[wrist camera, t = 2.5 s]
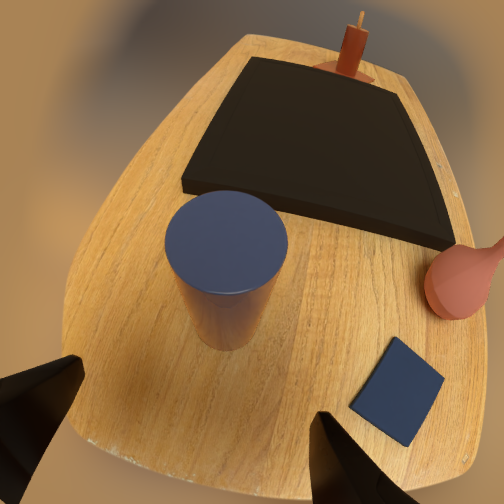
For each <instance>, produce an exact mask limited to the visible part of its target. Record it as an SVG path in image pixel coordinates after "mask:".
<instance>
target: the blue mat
mask: <svg viewBox="0 0 504 504" xmlns="http://www.w3.org/2000/svg"><path fill="white" fill-rule="evenodd" d="M444 379H445V378H444V377H442V376H441V375H440V374H439V373H438V372H437V371H436V370H435V369H433V368H432V367H431V366H430V365H429V364H428V363H426V362H425V361H424V360H423V359H422V358H421V357H420V356H418V355H417V354H416V353H415V352H414V351H413V350H411V349H410V348H409V347H408V346H407V345H406V344H404V343H403V342H402V341H401V340H400V339H399V338H397V337H394V338H393V339H392V341H391V342H390V344H389V346H388V348H387V349H386V351H385V353H384V355H383V356H382V358H381V360H380V361H379V363H378V365H377V366H376V368H375V369H374V371H373V373H372V374H371V376H370V377H369V379H368V380H367V382H366V383H365V385H364V386H363V388H362V389H361V391H360V392H359V394H358V395H357V396H356V398H355V399H354V401H353V402H352V403H351V405H350V406H349V408H350V409H352V410H353V411H355V412H356V413H357V414H359V415H360V416H361V417H363V418H364V419H366V420H367V421H368V422H370V423H371V424H373V425H374V426H375V427H377V428H378V429H380V430H381V431H382V432H384V433H385V434H387V435H388V436H390V437H391V438H393V439H394V440H396V441H397V442H399V443H400V444H402V445H403V446H405V447H409V445H410V443H411V442H412V440H413V439H414V437H415V435H416V434H417V432H418V430H419V429H420V427H421V425H422V423H423V421H424V420H425V418H426V416H427V414H428V412H429V410H430V409H431V407H432V405H433V403H434V401H435V399H436V397H437V395H438V392H439V390H440V388H441V386H442V384H443V382H444Z"/></svg>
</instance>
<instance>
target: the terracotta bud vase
mask: <svg viewBox="0 0 504 504" xmlns="http://www.w3.org/2000/svg"><path fill="white" fill-rule="evenodd" d="M503 258H504V237H503V238H502V239H501V240H499V241H498V242H497V243H496V244H495V245H494V246H493V247H490V248H482V249H474V248H471V247H467V246H464V245H454V246H452V247H450V248H448V249H447V250H445V251H443V252H441V253H440V254H439V255H437V256H436V257H435V259H434V261H433V262H432V264H431V266H430V268H429V270H428V272H427V274H426V276H425V281H424V289H425V295H426V298H427V300H428V303H429V305H430V307H431V308H432V309H433V311H434V312H435V313H436V314H437V315H438V316H440V317H441V318H443V319H446V320H458V319H465V318H468V317H470V316H472V315H473V314H474V313H475V312H476V311H477V310H479V309H480V308H481V307H482V306H483V305H484V304H485V302H486V301H487V299H488V295H489V290H490V285H491V279H492V277H493V275H494V272H495V270H496V268H497V266H498V263H499V261H500V260H501V259H503Z"/></svg>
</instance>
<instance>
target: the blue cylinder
mask: <svg viewBox="0 0 504 504" xmlns="http://www.w3.org/2000/svg"><path fill="white" fill-rule="evenodd" d="M287 249H288V238H287V233H286V229H285V227H284V224H283V222H282V220H281V218H280V217H279V216H278V214H277V213H276V212H275V211H274V210H273V209H272V208H271V207H270V206H269V205H268V204H267V203H265V202H264V201H262V200H261V199H259V198H257V197H255V196H252V195H250V194H247V193H243V192H238V191H228V190H224V191H214V192H209V193H205V194H202V195H200V196H197V197H195V198H193V199H192V200H190V201H188V202H187V203H186V204H184V205H183V206H182V207H181V208H180V209H179V210H178V211H177V212H176V213H175V215H174V216H173V217H172V219H171V221H170V223H169V225H168V228H167V231H166V235H165V252H166V256H167V259H168V262H169V265H170V267H171V270H172V273H173V275H174V278H175V280H176V283H177V286H178V288H179V291H180V293H181V296H182V298H183V301H184V303H185V305H186V308H187V310H188V313H189V315H190V317H191V320H192V322H193V324H194V327H195V329H196V331H197V333H198V335H199V337H200V339H201V340H202V341H203V342H204V343H205V344H206V345H208V346H209V347H211V348H213V349H215V350H219V351H233V350H237V349H239V348H241V347H243V346H245V345H246V344H247V343H248V342H249V341H250V340H251V339H252V337H253V335H254V333H255V331H256V329H257V326H258V324H259V322H260V319H261V317H262V314H263V312H264V310H265V307H266V305H267V302H268V300H269V298H270V295H271V293H272V290H273V288H274V285H275V283H276V281H277V278H278V276H279V273H280V271H281V268H282V266H283V263H284V261H285V258H286V254H287Z"/></svg>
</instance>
